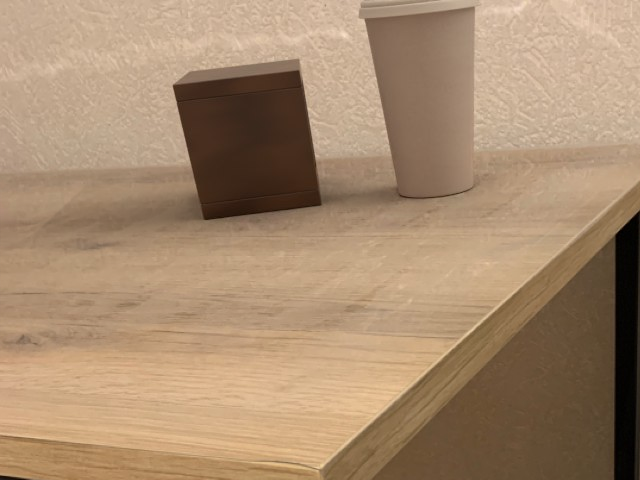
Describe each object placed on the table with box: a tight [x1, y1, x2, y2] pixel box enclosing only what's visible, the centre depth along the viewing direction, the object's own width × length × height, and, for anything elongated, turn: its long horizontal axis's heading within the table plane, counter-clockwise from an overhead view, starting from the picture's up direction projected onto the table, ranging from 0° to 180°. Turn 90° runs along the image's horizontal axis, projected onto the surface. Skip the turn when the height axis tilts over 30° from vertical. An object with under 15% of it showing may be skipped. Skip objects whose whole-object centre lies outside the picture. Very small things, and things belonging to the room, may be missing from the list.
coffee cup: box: [358, 0, 481, 199], centre depth 73 cm, size 10×10×15 cm
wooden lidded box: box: [172, 58, 322, 220], centre depth 79 cm, size 10×13×10 cm
